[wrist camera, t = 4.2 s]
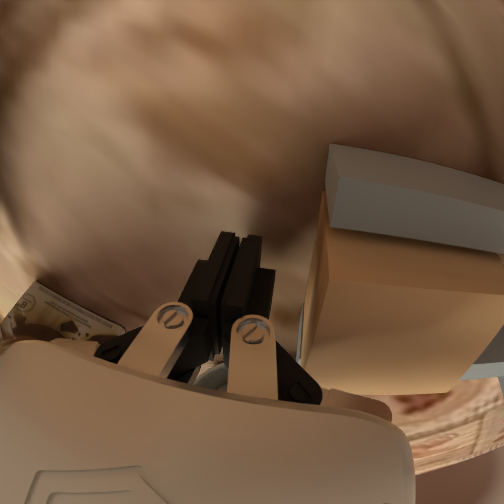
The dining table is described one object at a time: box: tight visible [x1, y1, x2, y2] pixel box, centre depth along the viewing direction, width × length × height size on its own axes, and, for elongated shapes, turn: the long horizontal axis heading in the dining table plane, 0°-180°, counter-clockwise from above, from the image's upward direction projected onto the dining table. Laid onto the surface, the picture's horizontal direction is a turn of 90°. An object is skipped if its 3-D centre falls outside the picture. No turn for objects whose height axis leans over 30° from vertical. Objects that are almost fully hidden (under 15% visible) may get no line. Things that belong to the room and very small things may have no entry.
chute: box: [296, 143, 504, 397], centre depth 11 cm, size 12×16×5 cm
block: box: [300, 191, 504, 395], centre depth 11 cm, size 6×7×6 cm
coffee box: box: [0, 281, 125, 356], centre depth 15 cm, size 9×6×16 cm
